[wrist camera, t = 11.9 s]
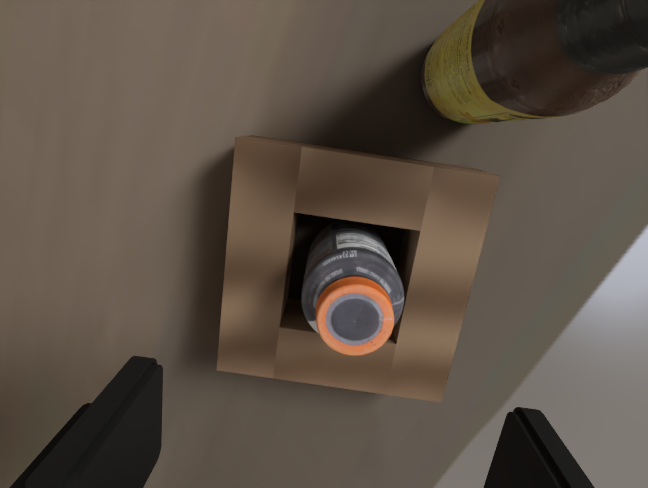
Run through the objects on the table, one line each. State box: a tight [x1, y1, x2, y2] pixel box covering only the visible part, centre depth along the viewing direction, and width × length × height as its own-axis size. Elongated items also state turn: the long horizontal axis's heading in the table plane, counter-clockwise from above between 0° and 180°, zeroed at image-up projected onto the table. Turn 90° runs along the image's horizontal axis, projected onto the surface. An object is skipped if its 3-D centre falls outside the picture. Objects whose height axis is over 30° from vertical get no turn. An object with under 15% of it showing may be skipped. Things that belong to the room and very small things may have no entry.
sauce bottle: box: [421, 0, 648, 124], centre depth 18 cm, size 6×6×20 cm
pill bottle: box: [301, 220, 404, 356], centre depth 26 cm, size 6×6×11 cm
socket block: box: [217, 135, 500, 403], centre depth 29 cm, size 16×16×5 cm
